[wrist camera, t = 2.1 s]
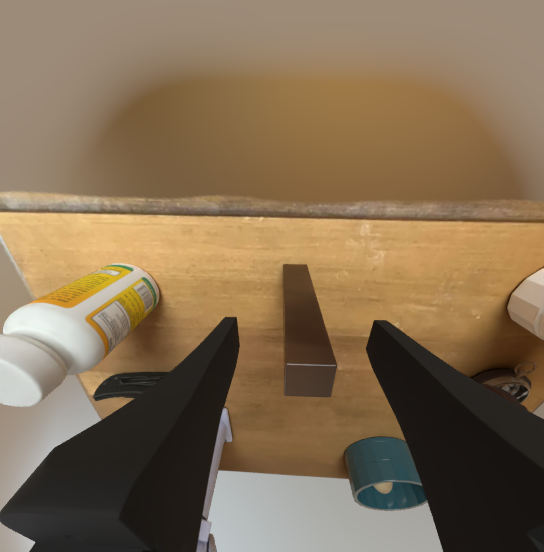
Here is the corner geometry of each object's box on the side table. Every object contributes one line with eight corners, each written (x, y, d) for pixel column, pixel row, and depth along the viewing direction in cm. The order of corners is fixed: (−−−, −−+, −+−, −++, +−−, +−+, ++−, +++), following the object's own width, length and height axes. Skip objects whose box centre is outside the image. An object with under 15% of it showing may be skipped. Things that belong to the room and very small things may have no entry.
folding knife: (113, 377, 24) (92, 402, 22) (108, 370, 24) (86, 395, 21) (188, 376, 23) (176, 401, 21) (185, 368, 23) (173, 394, 20)
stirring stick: (282, 284, 17) (284, 396, 8) (283, 264, 16) (285, 364, 8) (305, 285, 17) (331, 398, 8) (306, 264, 16) (337, 366, 7)
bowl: (339, 467, 32) (348, 508, 28) (349, 435, 28) (361, 478, 24) (401, 470, 32) (419, 512, 28) (422, 438, 27) (446, 482, 23)
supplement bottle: (172, 287, 18) (72, 386, 9) (144, 319, 20) (40, 427, 11) (117, 248, 16) (-62, 323, 8) (93, 287, 18) (-73, 382, 10)
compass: (498, 405, 23) (581, 491, 17) (435, 395, 23) (495, 480, 17) (551, 359, 20) (683, 446, 13) (478, 347, 20) (576, 430, 13)
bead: (364, 469, 31) (372, 496, 28) (368, 460, 30) (377, 488, 27) (383, 470, 31) (393, 497, 28) (388, 461, 29) (399, 489, 27)
